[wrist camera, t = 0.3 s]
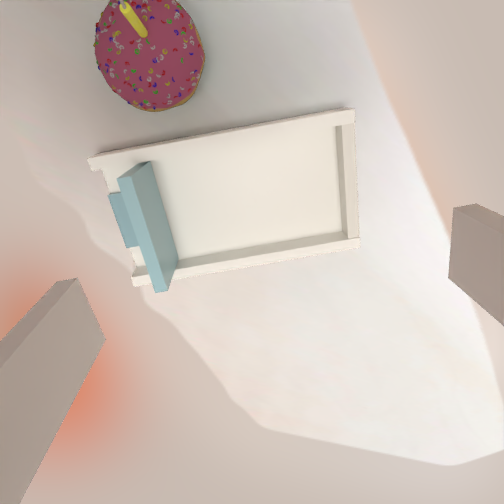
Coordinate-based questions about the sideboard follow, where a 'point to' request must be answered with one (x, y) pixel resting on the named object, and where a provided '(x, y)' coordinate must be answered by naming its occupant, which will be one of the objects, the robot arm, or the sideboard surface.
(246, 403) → the sideboard surface
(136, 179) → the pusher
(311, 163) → the white shallow tray
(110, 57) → the cupcake
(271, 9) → the sideboard surface
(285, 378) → the sideboard surface
